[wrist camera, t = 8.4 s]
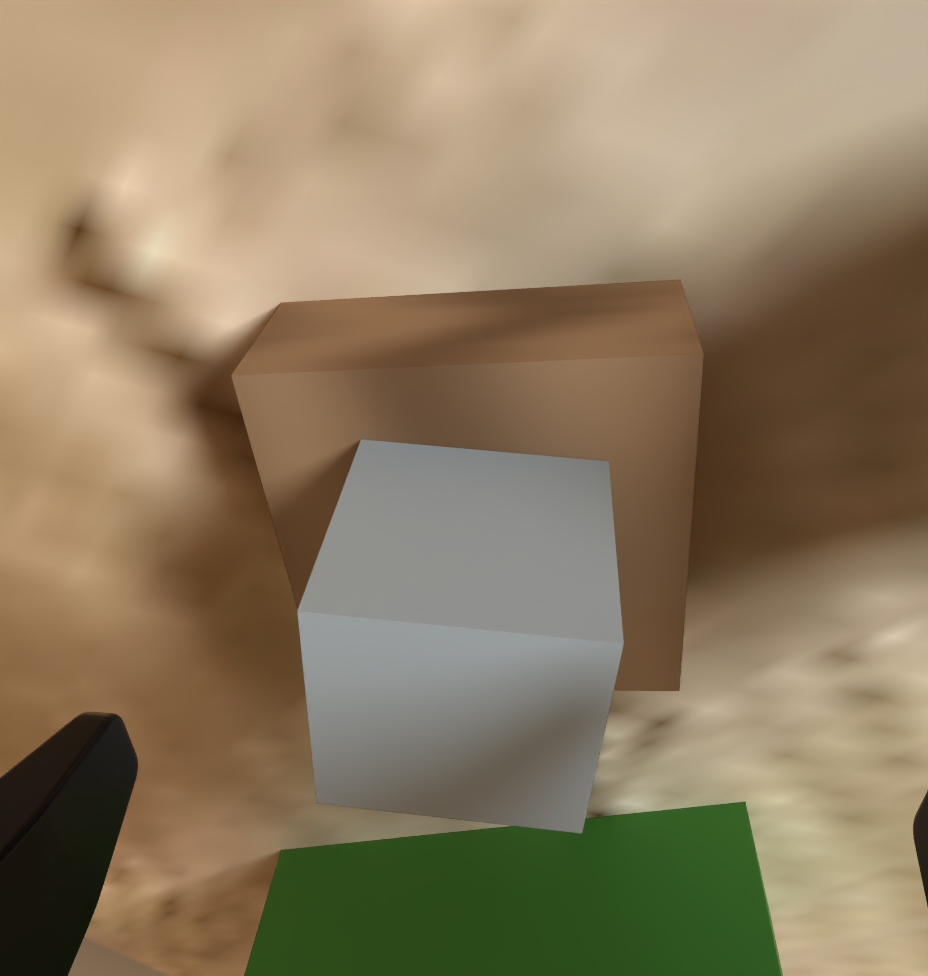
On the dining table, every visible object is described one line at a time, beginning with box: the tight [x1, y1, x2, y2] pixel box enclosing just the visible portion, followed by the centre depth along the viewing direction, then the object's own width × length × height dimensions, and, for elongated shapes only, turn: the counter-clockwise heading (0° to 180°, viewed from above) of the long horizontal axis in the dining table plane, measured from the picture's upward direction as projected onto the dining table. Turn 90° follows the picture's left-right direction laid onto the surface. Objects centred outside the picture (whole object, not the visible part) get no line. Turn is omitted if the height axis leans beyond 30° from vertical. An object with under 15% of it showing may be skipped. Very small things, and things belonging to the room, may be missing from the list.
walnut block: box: [231, 280, 704, 691], centre depth 20 cm, size 9×9×4 cm
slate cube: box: [297, 439, 624, 833], centre depth 16 cm, size 5×5×5 cm
